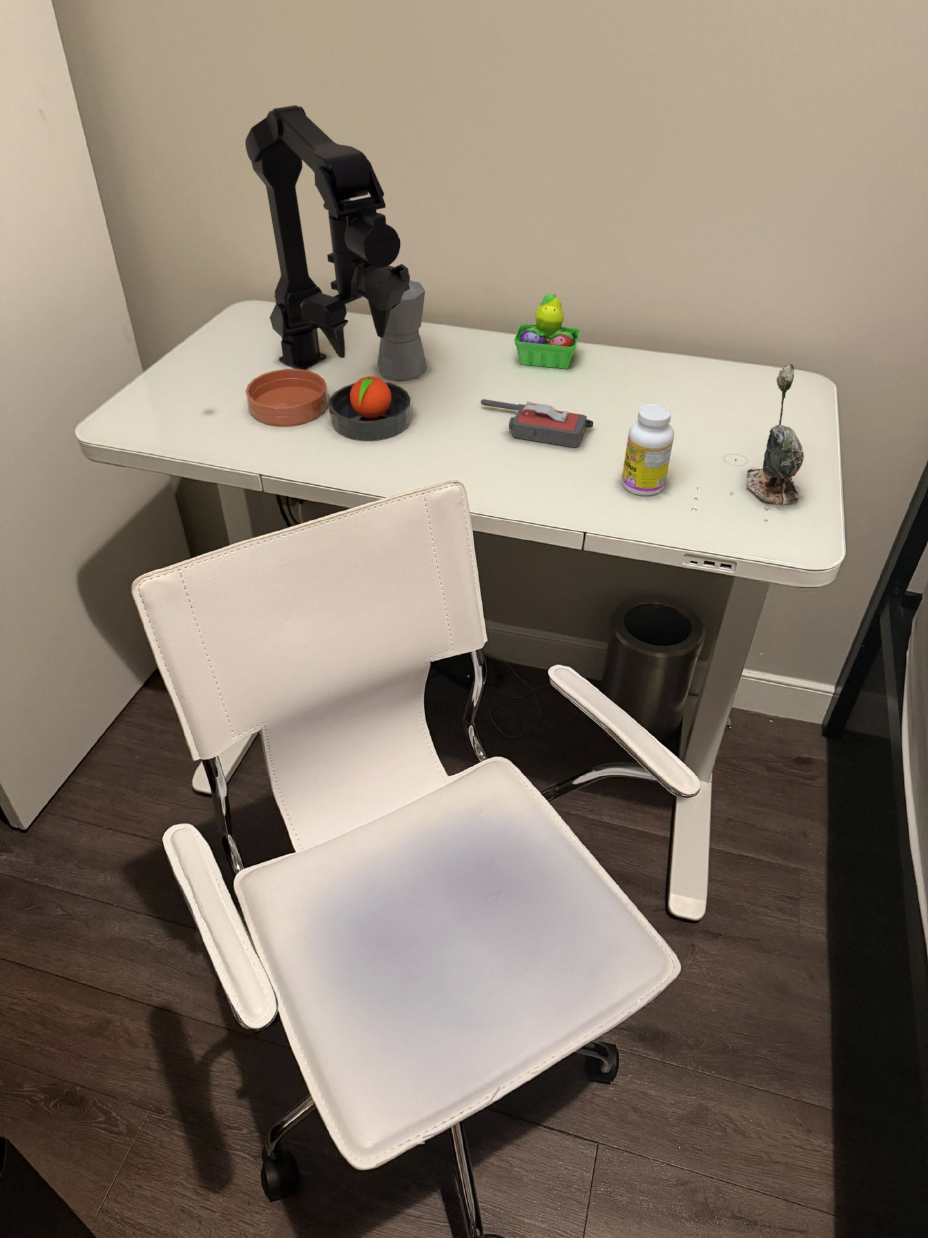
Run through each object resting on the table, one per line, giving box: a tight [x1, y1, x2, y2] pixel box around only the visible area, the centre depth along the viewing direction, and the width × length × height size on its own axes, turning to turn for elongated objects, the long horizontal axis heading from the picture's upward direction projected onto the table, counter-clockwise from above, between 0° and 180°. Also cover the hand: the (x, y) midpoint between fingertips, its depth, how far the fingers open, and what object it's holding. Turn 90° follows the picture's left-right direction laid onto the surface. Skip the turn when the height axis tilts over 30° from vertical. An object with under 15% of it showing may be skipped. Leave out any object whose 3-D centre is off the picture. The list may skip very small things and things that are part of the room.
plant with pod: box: [746, 363, 805, 505], centre depth 129 cm, size 8×11×20 cm
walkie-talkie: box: [480, 398, 594, 448], centre depth 148 cm, size 9×4×20 cm
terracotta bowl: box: [245, 368, 329, 427], centre depth 154 cm, size 14×14×4 cm
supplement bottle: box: [621, 403, 675, 496], centre depth 133 cm, size 7×7×13 cm
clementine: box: [350, 375, 391, 419], centre depth 149 cm, size 8×7×7 cm
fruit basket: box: [514, 293, 581, 370], centre depth 164 cm, size 11×9×11 cm
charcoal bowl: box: [328, 381, 412, 442], centre depth 150 cm, size 14×14×4 cm
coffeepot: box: [377, 274, 428, 382], centre depth 159 cm, size 15×9×18 cm, turn 174°
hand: (361, 346), depth 142 cm, fingers open, 9 cm apart
